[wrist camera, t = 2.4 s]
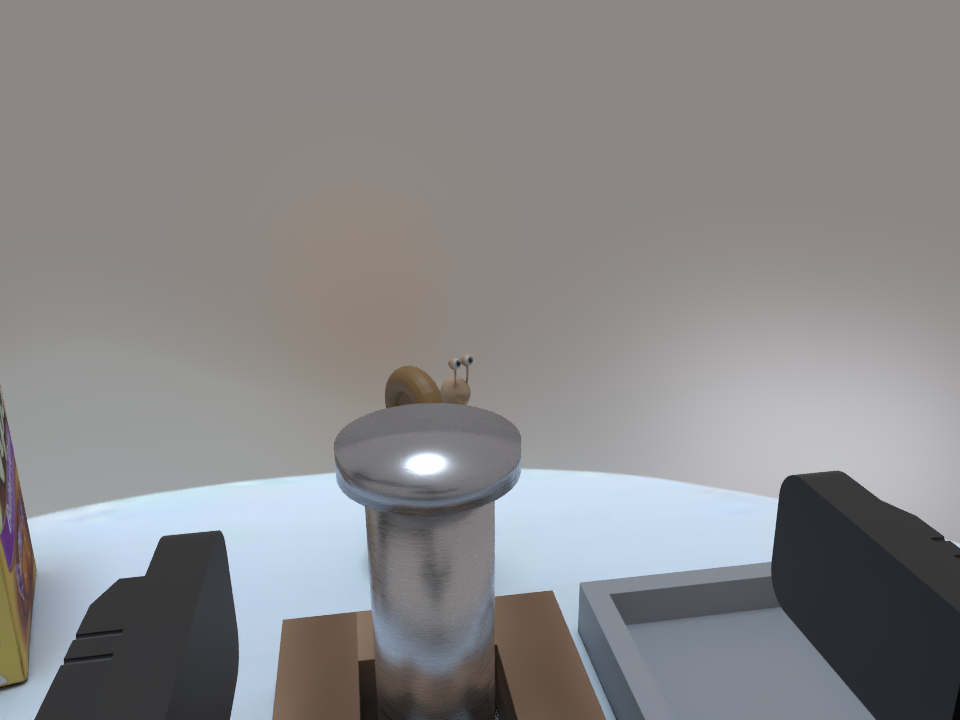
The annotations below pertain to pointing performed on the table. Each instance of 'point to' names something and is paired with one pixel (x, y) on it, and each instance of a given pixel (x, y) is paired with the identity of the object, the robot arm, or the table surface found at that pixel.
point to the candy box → (13, 566)
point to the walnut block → (518, 666)
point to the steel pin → (431, 550)
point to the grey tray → (706, 650)
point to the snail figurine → (427, 386)
